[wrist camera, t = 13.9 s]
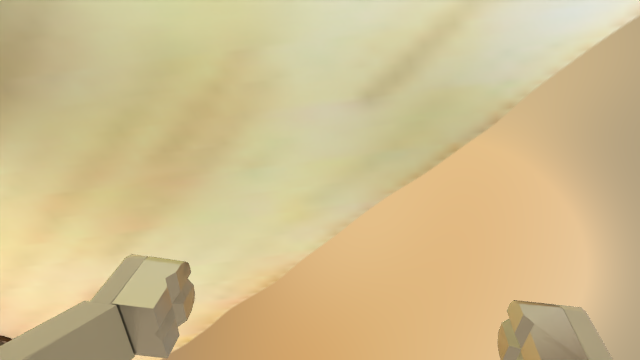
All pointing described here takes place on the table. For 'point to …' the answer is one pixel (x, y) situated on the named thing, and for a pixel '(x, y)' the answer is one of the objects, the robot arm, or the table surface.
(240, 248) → the table surface
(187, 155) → the table surface
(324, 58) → the table surface
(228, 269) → the table surface
